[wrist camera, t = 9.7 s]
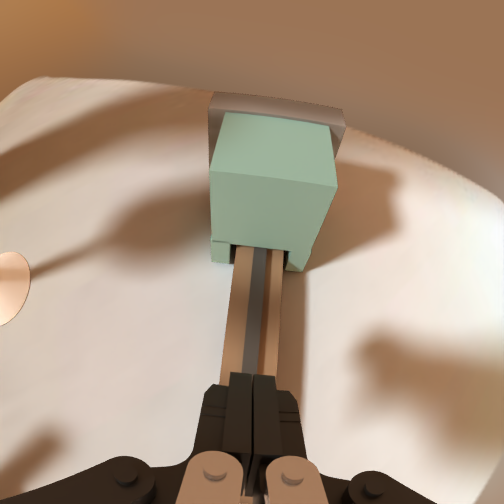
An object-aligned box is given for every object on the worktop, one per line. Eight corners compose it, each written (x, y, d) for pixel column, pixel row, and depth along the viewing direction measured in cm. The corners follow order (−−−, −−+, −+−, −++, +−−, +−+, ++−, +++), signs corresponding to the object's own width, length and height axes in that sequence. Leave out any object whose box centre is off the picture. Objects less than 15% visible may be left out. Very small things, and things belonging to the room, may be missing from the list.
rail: (302, 497, 14) (363, 545, 6) (165, 485, 14) (117, 531, 6) (311, 199, 25) (341, 109, 17) (214, 187, 25) (214, 91, 17)
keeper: (301, 272, 21) (340, 187, 14) (211, 261, 21) (207, 170, 14) (302, 214, 24) (330, 126, 17) (222, 205, 24) (223, 111, 16)
